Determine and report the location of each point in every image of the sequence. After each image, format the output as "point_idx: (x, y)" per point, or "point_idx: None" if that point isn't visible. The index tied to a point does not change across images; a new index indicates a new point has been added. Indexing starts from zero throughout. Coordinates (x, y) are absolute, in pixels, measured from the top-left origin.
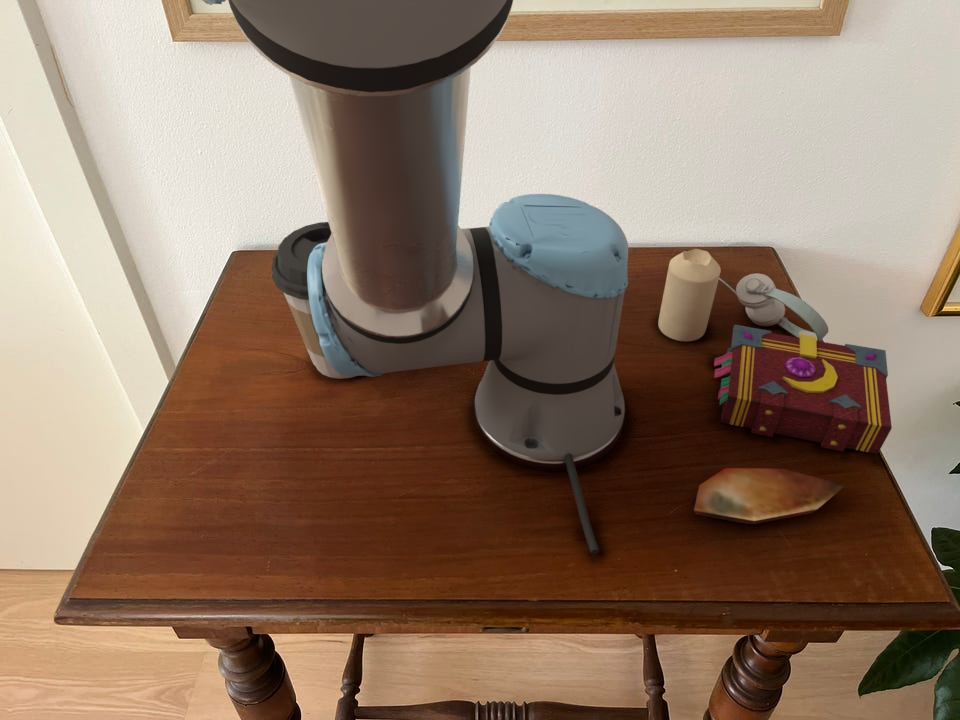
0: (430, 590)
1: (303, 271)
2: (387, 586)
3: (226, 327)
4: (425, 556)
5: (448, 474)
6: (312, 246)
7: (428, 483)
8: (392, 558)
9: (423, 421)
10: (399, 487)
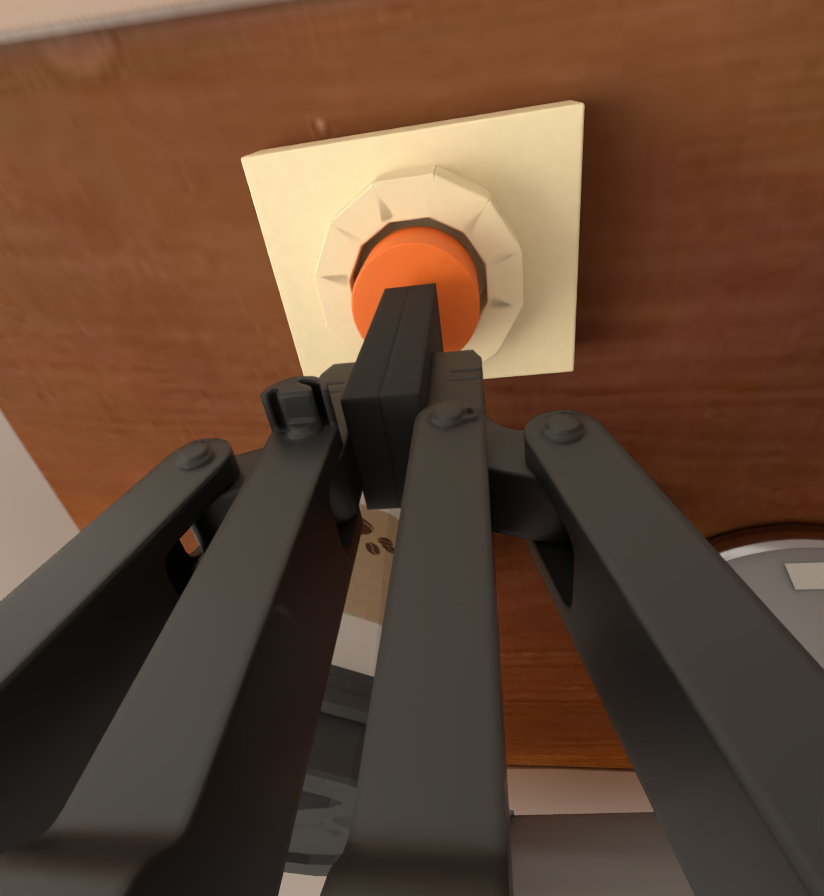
0: (550, 761)
1: (284, 871)
2: (506, 758)
3: (69, 445)
4: (543, 742)
5: (570, 682)
6: None
7: (543, 689)
8: (508, 742)
9: (531, 621)
10: (506, 692)
